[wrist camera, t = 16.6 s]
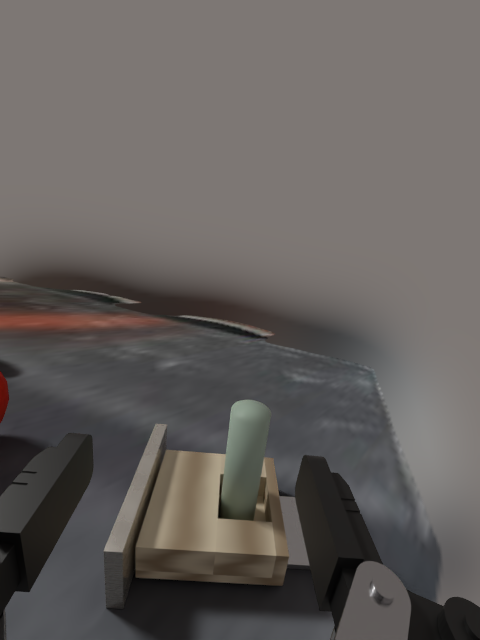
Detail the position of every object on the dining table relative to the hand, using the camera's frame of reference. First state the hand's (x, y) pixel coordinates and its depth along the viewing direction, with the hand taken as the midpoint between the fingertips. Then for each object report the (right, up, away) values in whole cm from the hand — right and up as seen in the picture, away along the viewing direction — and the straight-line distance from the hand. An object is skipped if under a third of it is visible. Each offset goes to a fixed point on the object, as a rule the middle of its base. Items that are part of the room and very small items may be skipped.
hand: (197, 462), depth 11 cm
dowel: (+1, -17, +22) cm, 28 cm away
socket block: (-1, -18, +22) cm, 29 cm away
